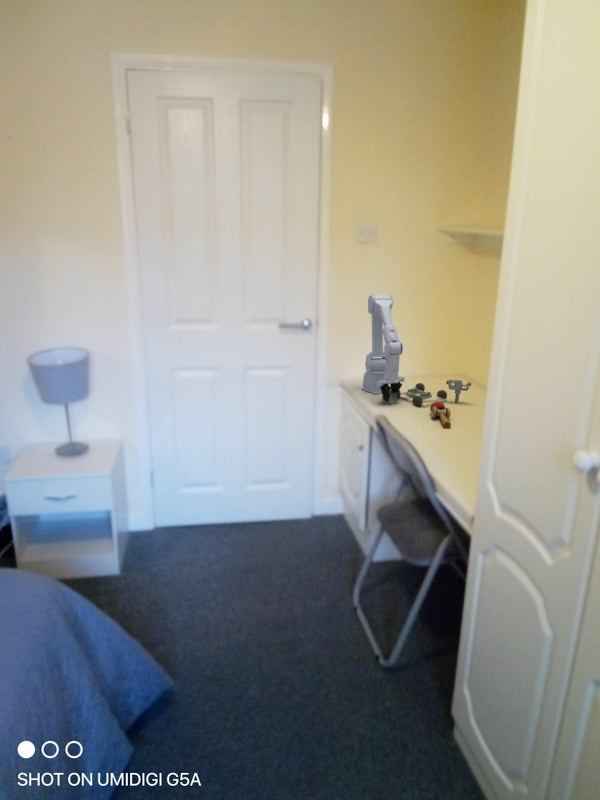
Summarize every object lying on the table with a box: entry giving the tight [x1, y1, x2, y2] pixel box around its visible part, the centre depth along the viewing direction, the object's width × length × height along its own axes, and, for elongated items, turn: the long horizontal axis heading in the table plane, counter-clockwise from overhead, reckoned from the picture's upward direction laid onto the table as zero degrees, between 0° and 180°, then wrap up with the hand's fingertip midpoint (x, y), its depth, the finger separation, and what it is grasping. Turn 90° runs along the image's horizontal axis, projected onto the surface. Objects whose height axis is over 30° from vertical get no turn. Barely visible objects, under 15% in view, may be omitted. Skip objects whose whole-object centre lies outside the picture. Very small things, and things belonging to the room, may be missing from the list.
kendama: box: [429, 402, 452, 429], centre depth 236 cm, size 8×6×18 cm
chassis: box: [397, 382, 448, 409], centre depth 262 cm, size 20×17×4 cm
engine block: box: [381, 390, 398, 406], centre depth 256 cm, size 5×4×5 cm
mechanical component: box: [445, 379, 472, 404], centre depth 257 cm, size 3×10×10 cm, turn 78°
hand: (389, 399), depth 256 cm, fingers closed on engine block, 4 cm apart
